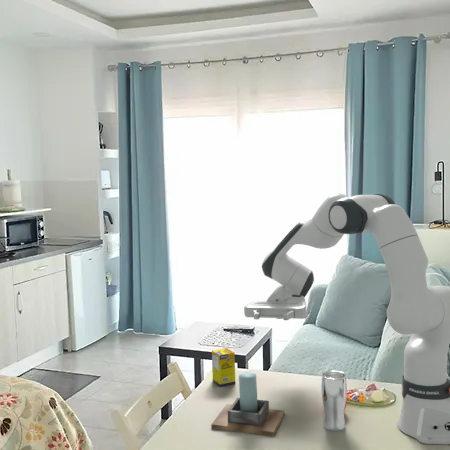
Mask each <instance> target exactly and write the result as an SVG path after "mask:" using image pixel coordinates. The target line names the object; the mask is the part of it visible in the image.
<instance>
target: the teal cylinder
mask: <svg viewBox="0 0 450 450" xmlns="http://www.w3.org/2000/svg"><path fill="white" fill-rule="evenodd" d="M257 382H258V381H257V374H256V373H254V372H250V371H249V372H242V373H240V374H239V375H238V386H239V387H238V389H239V398H240V411H242V412H251V413H258V406H257V400H258V388H257V387H258V386H257V385H258V383H257Z"/></svg>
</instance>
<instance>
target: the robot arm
mask: <svg viewBox="0 0 450 450" xmlns="http://www.w3.org/2000/svg"><path fill="white" fill-rule="evenodd" d="M368 232H369V233H371V235H373V237H374V238H375V241H376V243H377V247H378V250H379V252H380V254H381V257H382V260H383V262H384V265H385V268H386V270H387V273H388V277H389V278H388V279H389V285H390V301H389V304H388V306H387V308H386V318H387V322H388V324H389V326H390V327H391V328H392V329H393V331H394V332H397V333H398V334H400V335H405V336H407V335H408V336H409V335H410V336H411V337H410V338H409V340H408V342H407V343H406V345H405V347H404V351H403V375H402V380H401V395H402V403H401V409H400V414H399V418H398V420H397V427H398V429H399V431H401V432H402V433H404V434H406V435H407V436H410V437H412V438H413V439H414V438H415V439H416V440H417V441H418V442H420V443H422V444H427V445H433V444H434V445H450V379H448V375H447V373H448V371H447V370H448V369H447V368H448V353H449V347H450V286H449V285H448V286H447V285H439V284H438V285H437V284H436V285H431V286H428V285H427V276H426V275H427V274H426V273H427V269H428V266H429V258H428V256H427V254H426V251H425V249H424V247H423V244H422V241H421V239H420V236H419V234H418V232H417V230H416V227H415V226H414V224H413V222H412V221H411V219H410V217H409V215H408V214H407V213H406V210H404V208H403V207H402V206H400V204H396V202H395V201H394V200H393V198H392V197H391V196H388V195H387V194H382V193H374V194H357V195H352V196H347V195H346V194H343V193H339V192H337V193H332V194H330V195H329V196H327V198H325V200H324V201H323V202H322V203H321V204H320V206H319V207H318V208H317V210H316V212H315V213H314V215H313V217H311V219H309V220H307V221H300V222H298V223H296V225H294V227H293V228H292V229H291V230H290V231H288V233H287V234H286V235H285V236H284V237H283V239H282V240H281V241H280V242H279V243H278V244H277V246H276V247H275V248H274V249H273V250H272V251H270V252H269V253H268V254H267V255H266V256H265V257H264V259H263V261H262V263H261V269H262V272H263V275H264V276H265V277H267V278H269V279H270V280H274V281H275V282H277V283H279V286H278V287H276V288H275V289H274V291H273V292H272V293H271V294H270V295H269V296H268V297H267V299H266V301H265V300H264V301H260V300H257V301H256V300H255V301H250V302H249V303H247V304H245V305H244V307H243V309H244V311H243V312H244V316H245V317H246V318H253V320H260V319H263V318H264V319H277V320H283V321H289V320H291V319H298V320H301V319H302V320H303V319H306V318H307V302H306V299H305V297H306V296H307V295H308V293H309V292H310V290H311V288H312V286H313V284H314V282H315V278H314V272H313V270H312V269H310V268H308V267H307V266H306V265H304V264H302V263H300V262H298V261H297V260H296V259H294V258H292V257H291V256H289V255H288V252H289V251H290V250H291V249H292V248H293V246H295V245H303V246H309V247H313V248H315V249H320V250H322V249H330V248H332V247H335V246H336V245H337V244H338V243H339V242H340V240H341V239H342V238H343V237H344V235H355V234H362V233H368Z"/></svg>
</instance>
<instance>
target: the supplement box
mask: <svg viewBox="0 0 450 450" xmlns="http://www.w3.org/2000/svg"><path fill="white" fill-rule="evenodd" d="M235 355H236V354H235V352H234V351H233V350H231V349H229V348H228V347H224V348H223V347H222V348H220V349H214V350H211V365H212V366H211V367H212V382H213V383H214V384H216V385H217V386H218V387H226V386H230V385H235V384H236V359H235Z"/></svg>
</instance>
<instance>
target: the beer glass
mask: <svg viewBox="0 0 450 450" xmlns="http://www.w3.org/2000/svg"><path fill="white" fill-rule="evenodd" d="M347 384H348V383H347V374H346V373H345V372H344V371H340V370H332V369H331V370H325V371H324V372H322V374H321V386H320V388H321V389H320V390H321V391H320V392H321V398H322V399H321V400H322V404H323V410H324V419H323V424H322V425H323V428H324V429H326V430H328V431H332V432H340V431H343V430H344V429H346V421H345V409H346V408H345V402H346V401H347V395H348V393H347V392H348V389H347V388H348V387H347ZM344 408H345V409H344Z"/></svg>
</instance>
